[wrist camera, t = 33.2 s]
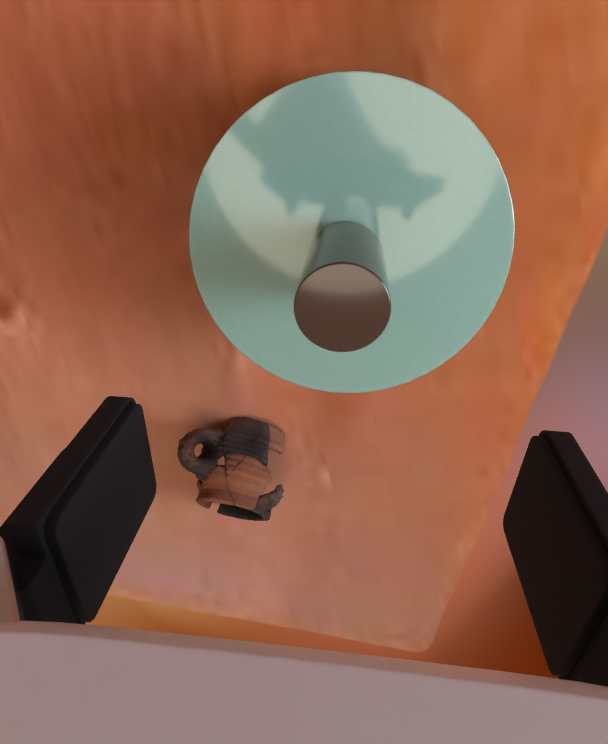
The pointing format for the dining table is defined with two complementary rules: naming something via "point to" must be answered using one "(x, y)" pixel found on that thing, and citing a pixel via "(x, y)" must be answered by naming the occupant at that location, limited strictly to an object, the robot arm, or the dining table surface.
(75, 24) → the dining table surface
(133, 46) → the dining table surface
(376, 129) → the lid
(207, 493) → the pottery mug
